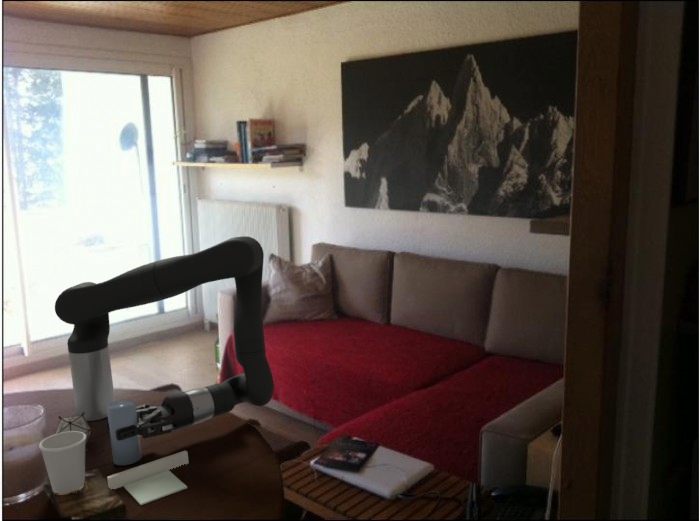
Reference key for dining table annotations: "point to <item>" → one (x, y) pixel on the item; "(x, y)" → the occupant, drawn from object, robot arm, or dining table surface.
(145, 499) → the coaster
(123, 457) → the pale blue cylinder
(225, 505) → the dining table surface
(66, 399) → the dining table surface
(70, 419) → the grey faceted polyhedron
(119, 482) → the white long bar
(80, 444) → the dixie cup
